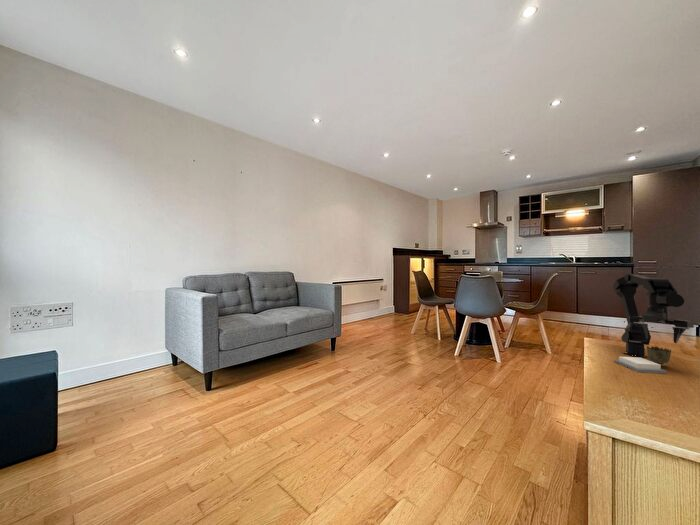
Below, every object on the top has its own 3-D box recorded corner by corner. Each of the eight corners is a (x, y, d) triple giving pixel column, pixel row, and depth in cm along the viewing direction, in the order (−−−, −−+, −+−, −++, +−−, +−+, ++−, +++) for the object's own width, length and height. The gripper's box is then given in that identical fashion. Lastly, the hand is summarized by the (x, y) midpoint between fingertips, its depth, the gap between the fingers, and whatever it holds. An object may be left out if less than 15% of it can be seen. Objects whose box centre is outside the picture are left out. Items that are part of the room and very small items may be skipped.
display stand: (613, 362, 127) (613, 355, 127) (639, 363, 126) (639, 356, 126) (638, 372, 115) (638, 364, 115) (667, 373, 114) (667, 366, 114)
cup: (659, 363, 127) (659, 346, 127) (676, 369, 119) (676, 351, 119) (641, 362, 127) (641, 345, 127) (657, 368, 120) (657, 350, 120)
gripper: (621, 304, 129) (622, 337, 127) (678, 307, 111) (681, 346, 110) (635, 304, 132) (636, 336, 131) (693, 307, 115) (695, 345, 113)
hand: (660, 341), depth 121 cm, fingers open, 9 cm apart
